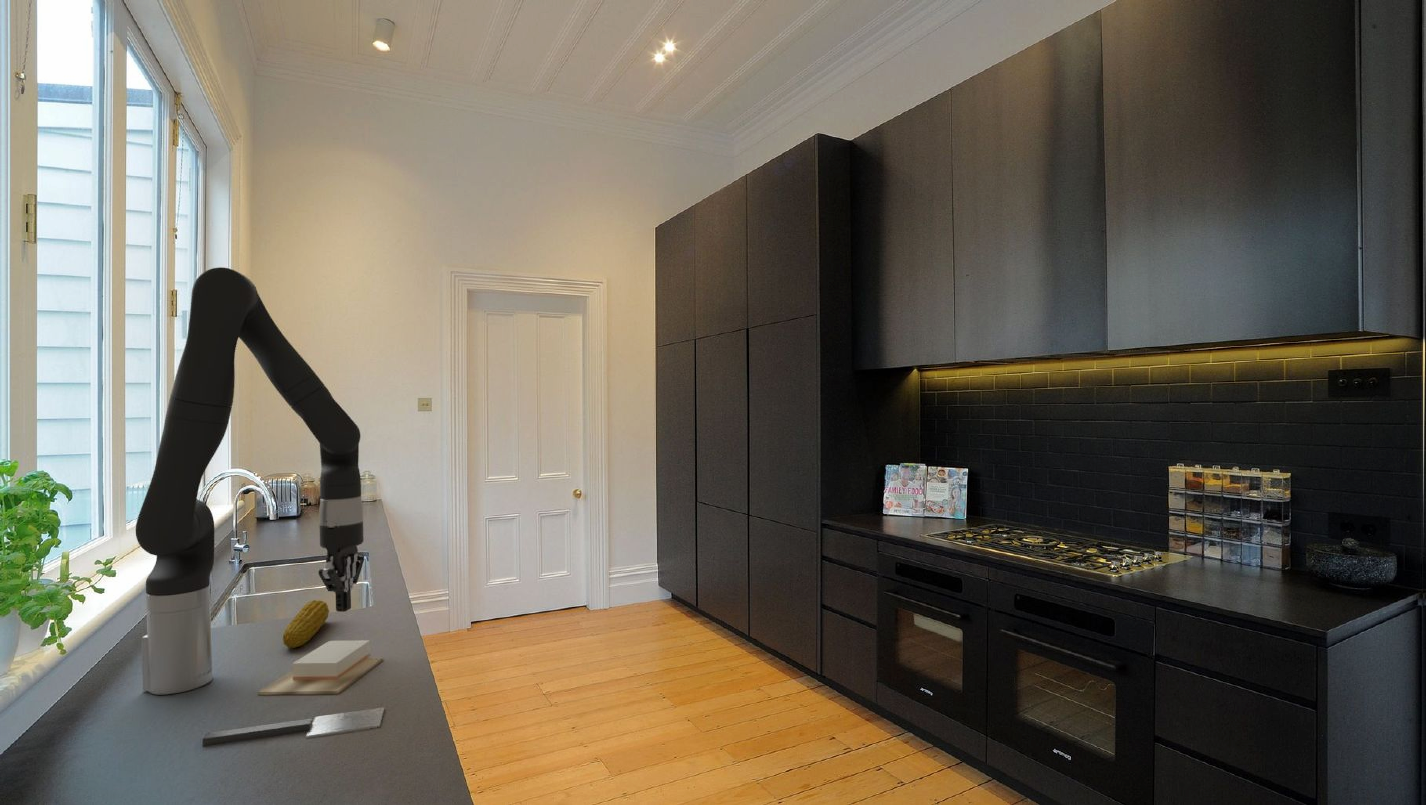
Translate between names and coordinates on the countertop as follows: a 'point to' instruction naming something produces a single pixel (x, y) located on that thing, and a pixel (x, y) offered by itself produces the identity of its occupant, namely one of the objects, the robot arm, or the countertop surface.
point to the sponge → (331, 660)
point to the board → (318, 682)
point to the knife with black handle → (302, 727)
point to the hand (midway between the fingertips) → (343, 610)
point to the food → (305, 624)
